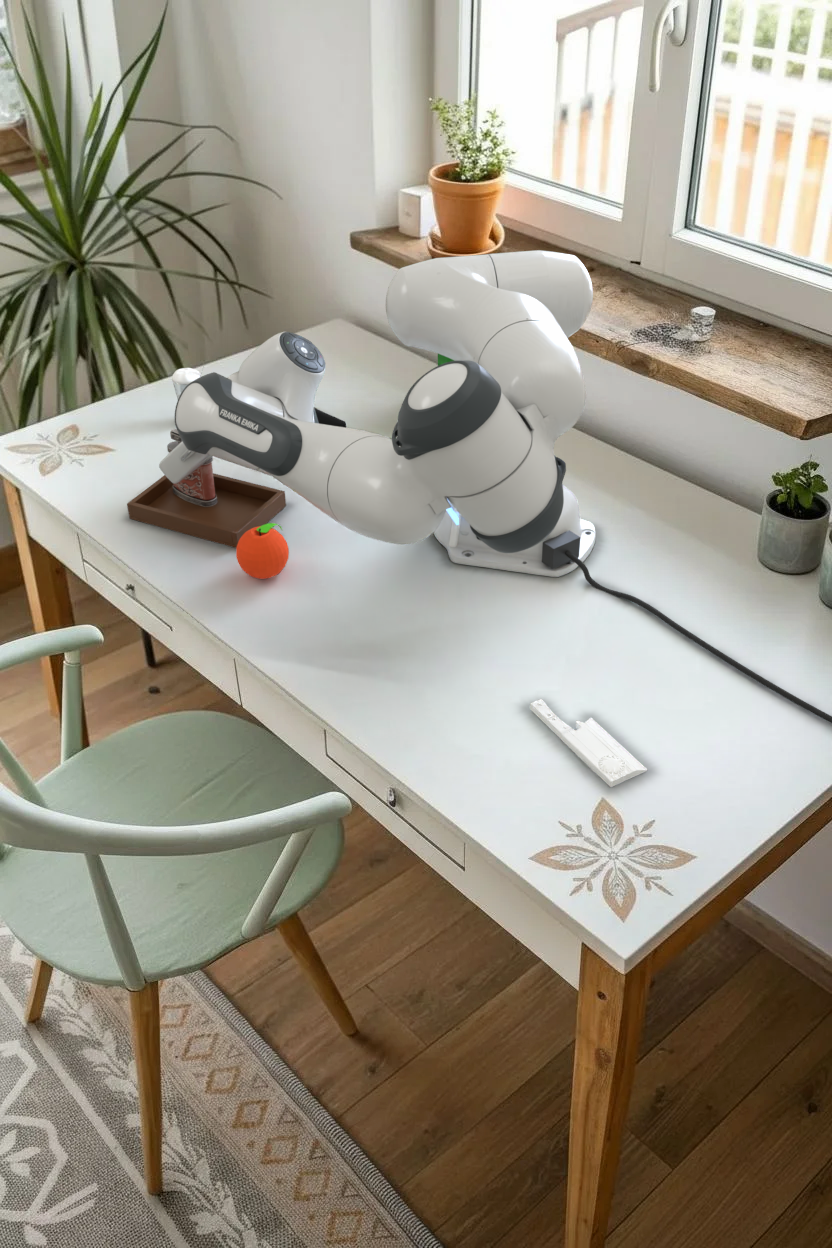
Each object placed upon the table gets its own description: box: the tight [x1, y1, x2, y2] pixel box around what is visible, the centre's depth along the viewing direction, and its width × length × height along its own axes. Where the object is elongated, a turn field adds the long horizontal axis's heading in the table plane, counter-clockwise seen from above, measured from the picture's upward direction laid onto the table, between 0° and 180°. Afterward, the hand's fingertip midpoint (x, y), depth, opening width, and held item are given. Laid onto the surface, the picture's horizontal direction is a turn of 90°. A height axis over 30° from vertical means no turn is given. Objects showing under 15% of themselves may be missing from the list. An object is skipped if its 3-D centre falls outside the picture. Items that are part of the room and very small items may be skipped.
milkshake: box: [171, 365, 205, 400], centre depth 195 cm, size 4×5×10 cm
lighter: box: [166, 428, 217, 507], centre depth 175 cm, size 8×3×10 cm, turn 51°
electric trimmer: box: [314, 406, 347, 428], centre depth 196 cm, size 4×16×3 cm, turn 48°
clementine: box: [235, 522, 290, 580], centre depth 160 cm, size 8×7×7 cm
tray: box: [126, 472, 287, 549], centre depth 174 cm, size 19×13×2 cm
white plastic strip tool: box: [529, 698, 648, 788], centre depth 134 cm, size 5×15×1 cm, turn 30°
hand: (188, 461), depth 175 cm, fingers closed on lighter, 3 cm apart
